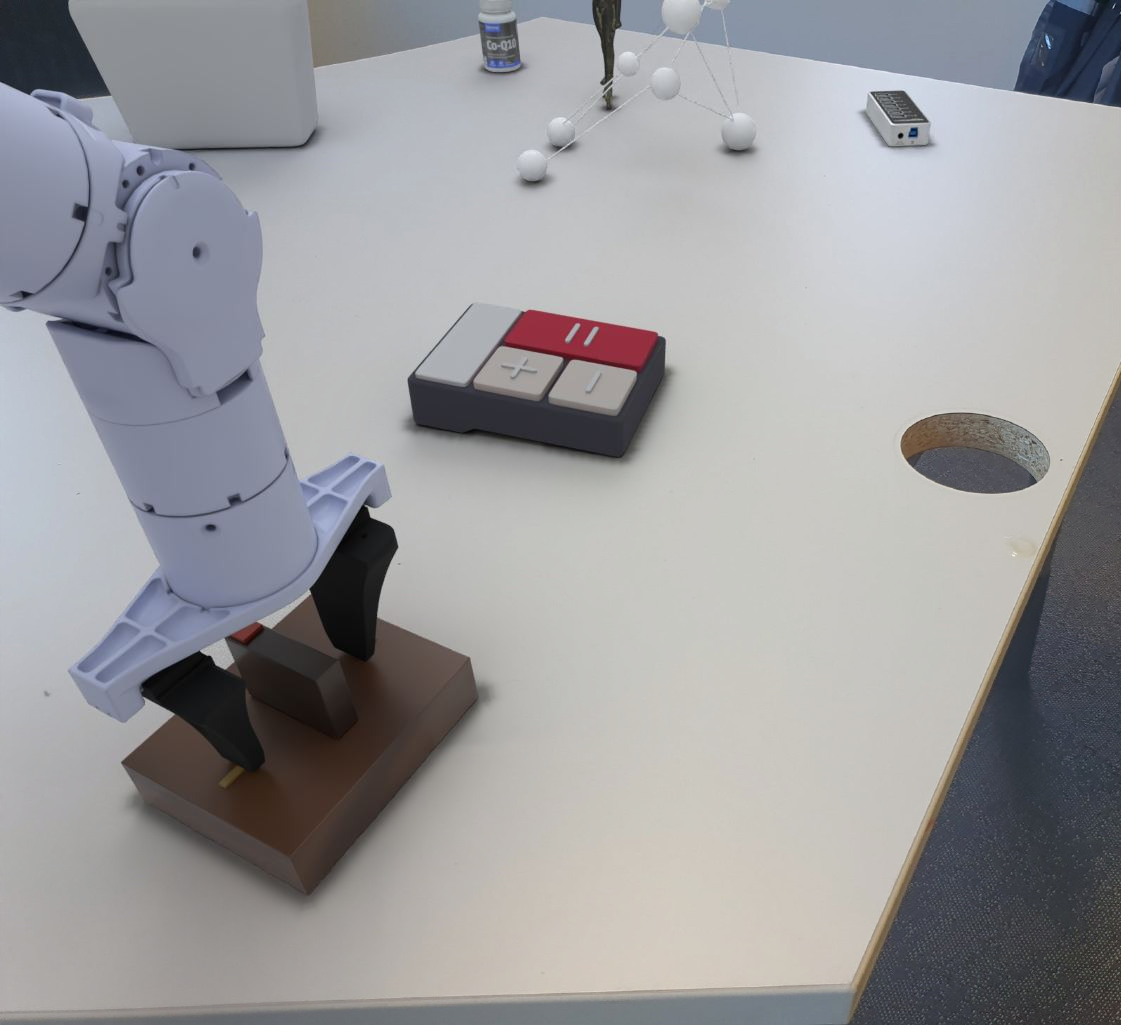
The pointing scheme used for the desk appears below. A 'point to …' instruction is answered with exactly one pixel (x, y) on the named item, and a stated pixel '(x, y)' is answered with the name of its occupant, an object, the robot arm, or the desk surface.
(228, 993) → the desk surface
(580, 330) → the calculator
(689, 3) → the molecule model
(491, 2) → the pill bottle
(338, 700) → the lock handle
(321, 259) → the desk surface
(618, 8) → the statue
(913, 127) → the multiport hub
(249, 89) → the radio
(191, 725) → the robot arm
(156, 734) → the plate
